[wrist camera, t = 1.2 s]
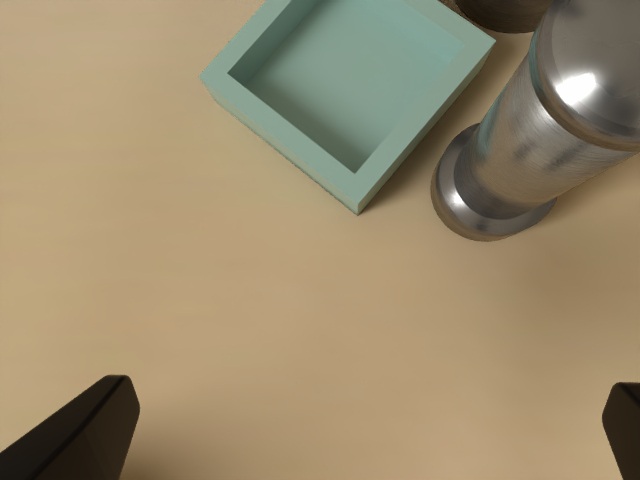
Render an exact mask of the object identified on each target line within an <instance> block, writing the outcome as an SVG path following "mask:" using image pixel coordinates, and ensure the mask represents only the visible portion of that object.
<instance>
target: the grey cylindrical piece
mask: <svg viewBox="0 0 640 480" xmlns="http://www.w3.org/2000/svg"><path fill="white" fill-rule="evenodd" d="M639 152H640V0H553V1H552V3H551V4H550V6H549V7H548V9H547V10H546V12H545V13H544V15H543V17H542V18H541V20H540V21H539V23H538V25H537V27H536V29H535V31H534V34H533V37H532V39H531V44H530V49H529V52H528V54H527V55H526V56H525V58H524V59H523V61H522V62H521V64H520V65H519V67H518V68H517V70H516V71H515V73H514V74H513V76H512V77H511V78H510V80H509V81H508V83H507V84H506V86H505V87H504V89H503V90H502V92H501V93H500V95H499V96H498V98H497V99H496V101H495V102H494V103H493V105H492V106H491V108H490V109H489V111H488V112H487V114H486V115H485V117H484V118H483V120H482V121H481V123H477V124H475V125H473V126H470V127H468V128H467V129H465V130H463V131H462V132H461V133H460V134H458V135H457V136H456V137H455V138H454V139H453V140H452V142H451V143H450V144H449V146H448V147H447V149H446V151H445V153H444V154H443V156H442V158H441V159H440V161H439V163H438V165H437V167H436V168H435V170H434V173H433V176H432V180H431V199H432V203H433V206H434V209H435V211H436V213H437V215H438V216H439V218H440V219H441V220H442V221H443V223H444V224H445V225H446V226H447V227H448V228H450V229H451V230H452V231H454V232H455V233H457V234H458V235H460V236H462V237H465V238H468V239H471V240H475V241H496V240H500V239H504V238H506V237H508V236H511V235H513V234H515V233H517V232H520V231H522V230H524V229H526V228H529V227H531V226H533V225H534V224H536V223H538V222H539V221H540V220H541V219H542V218H544V217H545V216H546V214H547V213H548V212H549V211H550V210H551V208H552V207H553V205H554V203H555V201H556V199H557V196H559V195H561V194H563V193H565V192H566V191H568V190H570V189H572V188H574V187H576V186H578V185H579V184H581V183H583V182H585V181H587V180H589V179H591V178H592V177H594V176H596V175H598V174H600V173H602V172H604V171H606V170H607V169H609V168H611V167H613V166H615V165H617V164H619V163H620V162H622V161H624V160H626V159H628V158H630V157H632V156H633V155H635V154H637V153H639Z"/></svg>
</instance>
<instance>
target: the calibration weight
mask: <svg viewBox="0 0 640 480" xmlns="http://www.w3.org/2000/svg"><path fill="white" fill-rule="evenodd" d="M552 1H553V0H455V2H456V4H457V5H458V7H459V8H460V9H461V10H462V11H463V12H464V13H465V14H466V15H467V16H468V17H469V18H470V19H472V20H473V21H474V22H476V23H478V24H479V25H481V26H484V27H486V28H488V29H491V30H495V31H498V32H504V33H526V32H531V31H535V29H536V27H537V25H538V23H539V21H540V20H541V18H542V17H543V15H544V13H545V12H546V10H547V9H548V7H549V6H550V4H551V3H552Z"/></svg>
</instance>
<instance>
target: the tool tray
mask: <svg viewBox="0 0 640 480" xmlns="http://www.w3.org/2000/svg"><path fill="white" fill-rule="evenodd" d="M495 42H496V40H495V39H493V38H492V37H490V36H489V35H487V34H486V33H484V32H483V31H482V30H480V29H479V28H477V27H476V26H474V25H473V24H471V23H470V22H468V21H467V20H465V19H464V18H462V17H461V16H460V15H458V14H457V13H455V12H454V11H452V10H451V9H449V8H448V7H446V6H445V5H443V4H442V3H440V2H439V1H438V0H266V2H265V3H264V4H263V5H262V6H261V7H260V8H259V9H258V11H257V12H256V13H255V14H254V15H253V16H252V17H251V18H250V19H249V21H248V22H247V23H246V24H245V25H244V26H243V27H242V28H241V30H240V31H239V32H238V33H237V34H236V35H235V36H234V37H233V38H232V40H231V41H230V42H229V43H228V44H227V45H226V46H225V47H224V49H223V50H222V51H221V52H220V53H219V54H218V55H217V56H216V57H215V59H214V60H213V61H212V62H211V63H210V64H209V65H208V66H207V68H206V69H205V70H204V71H203V72H202V73H201V74H200V75H199V76H198V77H199V78H200V80H201V81H202V83H203V84H204V85H205V87H206V88H207V90H208V91H209V93H210V94H211V96H212V97H213V98H214V100H215V101H216V102H217V103H218V104H220V105H221V106H222V107H223V108H224V109H226V110H227V111H228V112H229V113H231V114H232V115H233V116H234V117H236V118H237V119H238V120H239V121H241V122H242V123H243V124H244V125H246V126H247V127H248V128H249V129H251V130H252V131H253V132H254V133H255V134H257V135H258V136H259V137H260V138H262V139H263V140H264V141H265V142H267V143H268V144H269V145H270V146H272V147H273V148H274V149H275V150H277V151H278V152H279V153H280V154H281V155H283V156H284V157H285V158H286V159H288V160H289V161H290V162H291V163H293V164H294V165H295V166H296V167H298V168H299V169H300V170H301V171H303V172H304V173H305V174H306V175H308V176H309V177H310V178H311V179H312V180H314V181H315V182H316V183H317V184H319V185H320V186H321V187H322V188H324V189H325V190H326V191H327V192H329V193H330V194H331V195H332V196H334V197H335V198H336V199H337V200H338V201H340V202H341V203H342V204H343V205H345V206H346V207H347V208H348V209H350V210H351V211H352V212H353V213H355V214H356V215H357V216H358V215H359V214H360V212H361V211H362V210H363V209H364V208H365V207H366V205H367V204H368V203H369V202H370V201H371V199H372V198H373V197H374V196H375V195H376V194H377V192H378V191H379V190H380V189H381V188H382V186H383V185H384V184H385V183H386V182H387V181H388V179H389V178H390V177H391V176H392V175H393V173H394V172H395V171H396V170H397V169H398V168H399V166H400V165H401V164H402V163H403V162H404V160H405V159H406V158H407V157H408V156H409V155H410V153H411V152H412V151H413V150H414V149H415V147H416V146H417V145H418V144H419V143H420V142H421V140H422V139H423V138H424V137H425V136H426V134H427V133H428V132H429V131H430V130H431V129H432V127H433V126H434V125H435V124H436V123H437V121H438V120H439V119H440V118H441V117H442V115H443V114H444V113H445V112H446V111H447V110H448V108H449V107H450V106H451V105H452V104H453V102H454V101H455V100H456V99H457V98H458V97H459V95H460V94H461V93H462V92H463V91H464V89H465V88H466V87H467V86H468V85H469V84H470V82H471V81H472V80H473V79H474V78H475V76H476V75H477V74H478V73H479V72H480V71H481V69H482V67H483V65H484V63H485V61H486V59H487V57H488V56H489V54H490V52H491V50H492V48H493V46H494V44H495Z"/></svg>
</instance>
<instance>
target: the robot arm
mask: <svg viewBox="0 0 640 480" xmlns="http://www.w3.org/2000/svg"><path fill="white" fill-rule="evenodd" d="M139 413H140V405H139V401H138V398H137V395H136V392H135V389H134V387H133V384H132V381H131V379H130V377H128V376H127V375H107V376H105V377H103V378H101V379H100V380H99V381H97V382H96V383H95V384H93V385H92V386H91V387H89V388H88V389H86V390H85V391H84V392H82V393H81V394H80V395H78V396H77V397H76V398H74V399H73V400H71V401H70V402H69V403H67V404H66V405H65V406H63V407H62V408H61V409H59V410H58V411H56V412H55V413H54V414H52V415H51V416H50V417H48V418H47V419H46V420H44V421H43V422H41V423H40V424H39V425H37V426H36V427H35V428H33V429H32V430H30V431H29V432H28V433H26V434H25V435H24V436H22V437H21V438H20V439H18V440H17V441H15V442H14V443H13V444H11V445H10V446H9V447H7V448H6V449H5V450H3V451H2V452H0V480H119V478H120V475H121V472H122V468H123V465H124V462H125V459H126V456H127V453H128V449H129V446H130V443H131V440H132V437H133V434H134V430H135V427H136V424H137V421H138V418H139ZM602 422H603V427H604V430H605V432H606V435H607V438H608V440H609V443H610V446H611V449H612V451H613V454H614V457H615V459H616V462H617V465H618V467H619V470H620V473H621V475H622V478H623V480H640V383H634V382H618V383H616V384H615V385H613V387H612V389H611V392H610V394H609V397H608V400H607V402H606V405H605V408H604V410H603V414H602Z"/></svg>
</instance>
